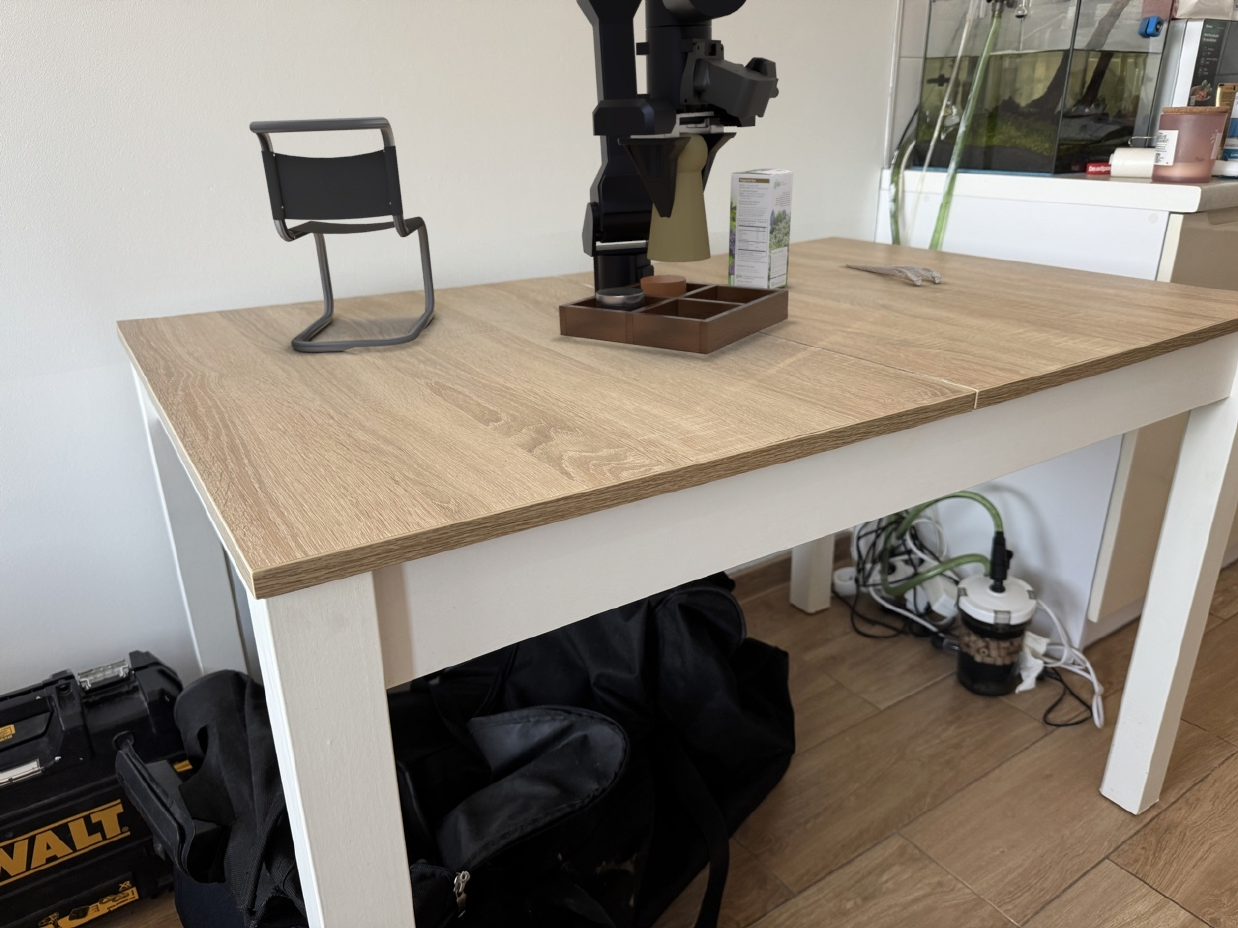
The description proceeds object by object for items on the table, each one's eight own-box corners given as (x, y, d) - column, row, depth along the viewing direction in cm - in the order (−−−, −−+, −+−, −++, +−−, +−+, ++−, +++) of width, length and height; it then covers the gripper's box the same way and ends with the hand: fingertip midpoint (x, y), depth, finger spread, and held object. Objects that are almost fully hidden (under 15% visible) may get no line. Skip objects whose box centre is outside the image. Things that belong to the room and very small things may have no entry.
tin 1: (587, 332, 94) (586, 294, 93) (615, 323, 98) (614, 285, 97) (627, 337, 92) (626, 298, 90) (654, 327, 96) (653, 289, 94)
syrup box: (748, 283, 120) (750, 168, 115) (789, 286, 117) (793, 168, 112) (727, 290, 116) (728, 171, 111) (769, 294, 113) (772, 171, 108)
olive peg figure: (643, 253, 88) (641, 132, 84) (705, 251, 89) (706, 130, 85) (650, 263, 83) (649, 134, 79) (716, 261, 83) (718, 132, 79)
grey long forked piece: (943, 282, 116) (944, 266, 115) (913, 286, 114) (914, 270, 114) (859, 273, 132) (859, 259, 131) (832, 276, 130) (832, 262, 129)
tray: (560, 339, 94) (558, 305, 93) (651, 308, 107) (651, 278, 106) (707, 359, 85) (707, 322, 83) (787, 322, 98) (788, 290, 97)
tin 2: (632, 317, 101) (631, 280, 99) (657, 308, 105) (656, 273, 103) (671, 321, 98) (670, 284, 97) (694, 312, 102) (694, 276, 100)
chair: (282, 355, 92) (242, 121, 84) (327, 319, 108) (297, 120, 100) (412, 349, 92) (384, 116, 84) (437, 314, 108) (416, 116, 100)
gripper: (705, 16, 67) (704, 232, 73) (810, 26, 81) (803, 207, 87) (584, 26, 73) (592, 226, 79) (702, 35, 87) (701, 203, 93)
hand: (679, 215), depth 84 cm, fingers closed on olive peg figure, 4 cm apart
